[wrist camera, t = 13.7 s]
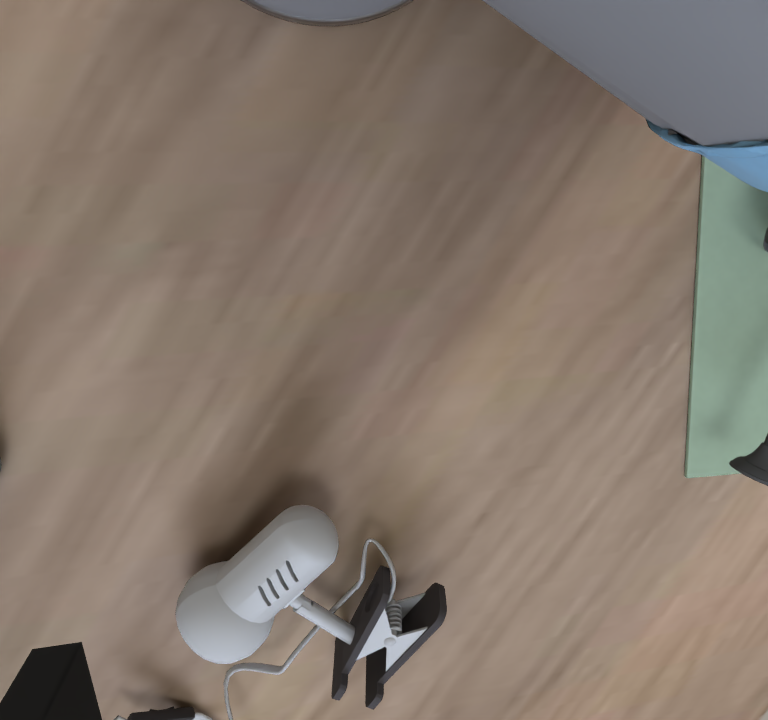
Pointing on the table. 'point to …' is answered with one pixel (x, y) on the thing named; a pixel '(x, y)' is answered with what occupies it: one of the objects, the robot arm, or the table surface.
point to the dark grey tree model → (762, 462)
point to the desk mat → (728, 326)
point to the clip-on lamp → (299, 608)
